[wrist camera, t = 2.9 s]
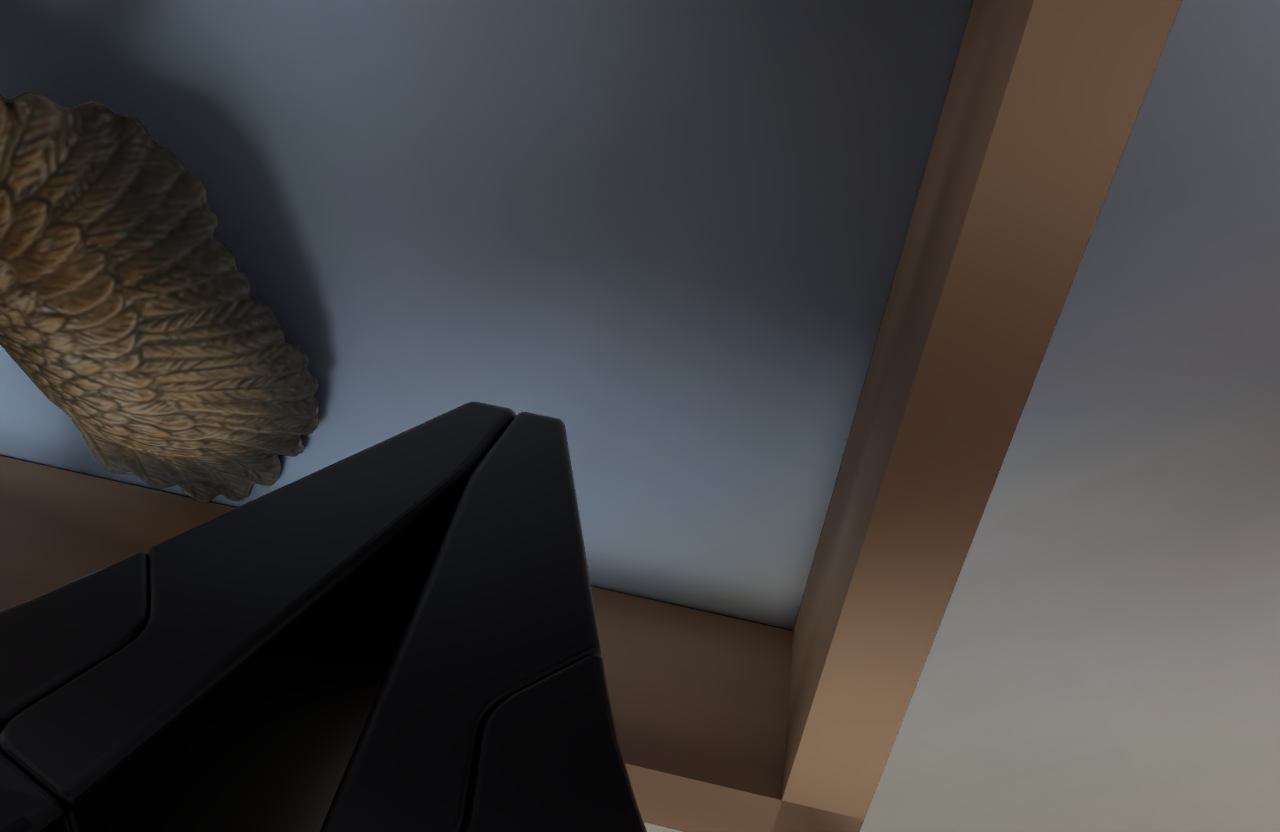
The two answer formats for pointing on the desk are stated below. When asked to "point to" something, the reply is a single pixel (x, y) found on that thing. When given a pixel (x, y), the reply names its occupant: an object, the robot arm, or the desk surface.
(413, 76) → the desk surface
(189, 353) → the eagle figurine
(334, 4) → the desk surface
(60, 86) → the desk surface
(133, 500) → the wooden frame
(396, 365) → the desk surface
